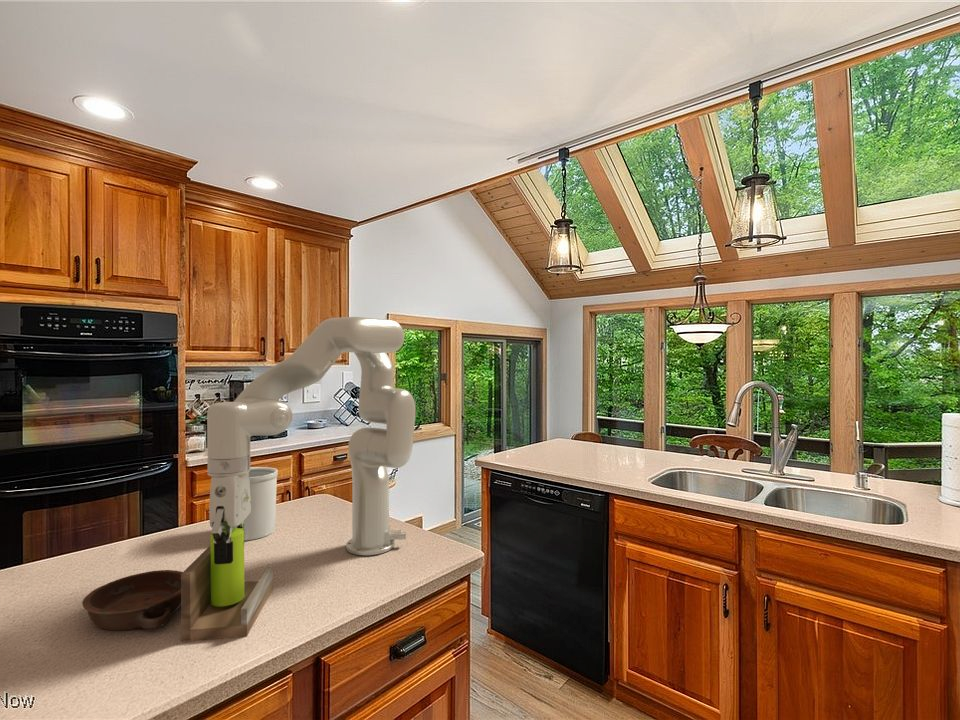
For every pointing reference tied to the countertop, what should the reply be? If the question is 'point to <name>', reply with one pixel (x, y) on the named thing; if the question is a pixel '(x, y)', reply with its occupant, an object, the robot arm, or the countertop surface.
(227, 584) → the soap dispenser
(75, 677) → the countertop surface
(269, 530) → the utensil holder
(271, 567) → the board
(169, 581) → the dish
